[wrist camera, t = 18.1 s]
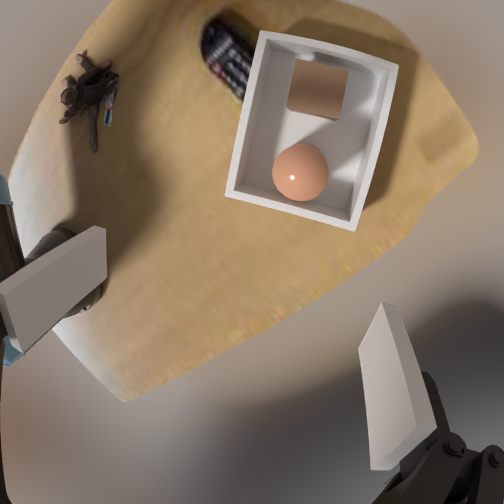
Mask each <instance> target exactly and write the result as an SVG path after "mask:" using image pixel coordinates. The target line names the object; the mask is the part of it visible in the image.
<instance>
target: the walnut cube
mask: <svg viewBox="0 0 504 504" xmlns="http://www.w3.org/2000/svg"><path fill="white" fill-rule="evenodd" d="M348 73H349V70H346V69H342V68H338V67H334V66H330V65H325V64H321V63H316V62H311V61H306V60H301V59H295V64H294V69H293V74H292V79H291V84H290V89H289V95H288V100H287V105H286V107H287V108H288V109H289V110H290V111H294V112H298V113H303V114H308V115H312V116H316V117H320V118H325V119H329V120H332V121H337V120H339V118H340V113H341V108H342V104H343V99H344V94H345V88H346V83H347V78H348Z"/></svg>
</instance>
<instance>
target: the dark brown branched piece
mask: <svg viewBox="0 0 504 504" xmlns="http://www.w3.org/2000/svg"><path fill="white" fill-rule="evenodd" d="M75 59H76V62H77V63H78V64H81V66H82V67H83V68H84V69H85V70H86V73H85V74H83V75H82V76H81V77H79V78H78V82H77V83H76V81H75V80H74V79H72V78H68V77H66V78H64V79H63V80H62V84H63V85H67V87H68V88H67V89H65V90H64V91H63V92H62V94H61V103H63V104H64V105H66V106H68V107H69V109H68V110H67V111H65V114H64V117H63V118H62V119H61V120H60V121H59V123H60V124H64V123H66V122H68V121H69V120H70V119H71V118H72V117H74V116H75V114H76V113H77V112H78V111H79V110H80V111H81V114H80V117H82V116H83V114H84V110H85V109H86V110H88V113H89V121H90V145H91V151H92V152H95V151H96V149H97V145H98V143H97V126H96V120H97V116H98V112H99V103H100V101H101V98H103V99H104V101H105V110H104V124H105V126H106V127H109V126H110V125H111V123H112V110H113V105H114V101H115V97H116V93H117V88H118V76H119V75H118V74H115V73H113V72H112V71H109V72H108V73H107V74H106V76H105V79H104V81H102V82H100V83H98V77H100V76H101V75H103V74H104V73H105V72H106V71H108V70H109V69H110V67H111V65H112V61H111V60H108V61H105V62H102V63H100V64H98V65H97V66H94V65H93V64H92V63H91V62H90V61H89V60H88V58H85V57H83V55H81V54H77V55H76V58H75ZM85 104H86V106H83V105H85ZM88 105H89V107H88ZM88 108H89V109H88Z"/></svg>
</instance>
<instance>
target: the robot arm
mask: <svg viewBox="0 0 504 504" xmlns="http://www.w3.org/2000/svg"><path fill="white" fill-rule="evenodd" d="M12 206H13V202H12V201H11V197H10V192H9V187H8V182H7V179H6V177H5V176H4V175H3V174H1V173H0V398H1V381H2V369H3V366H4V367H7V366H11V365H12V364H13V363H14V362H16V361H17V360H18V359H20V358H21V357H22V356H25V354H26V352H27V351H28V350H29V349H30V348H31V347H32V346H33V345H35V344H36V342H37V341H39V340H40V339H41V338H42V337H43V336H44V335H45V334H46V333H47V332H48V331H49V330H51V329H52V328H53V327H54V326H55V325H56V324H57V323H58V322H59V321H61V320H62V319H63V318H66V317H69V316H72V315H75V314H77V313H79V312H84V311H86V310H88V309H90V308H91V307H92V306H93V305H94V304H95V303H96V302H97V301H98V300H99V298H100V296H101V293H102V282H103V281H104V280H105V279H106V278H107V259H106V229H105V228H101V227H98V226H93V227H91V228H89V229H87V230H85V231H84V232H82V233H80V234H78V235H76V234H75V233H73V232H71V231H69V230H66V229H56V230H54V231H52V232H50V233H48V234H46V235H45V236H44V237H43V238H42V239H41V240H40V242H39V243H38V244H37V245H36V246H35V248H34V249H33V250H32V251H31V252H30V254H29V255H28V256H27V257H26V258H25V259H24V256H23V252H22V249H21V245H20V241H19V236H18V232H17V227H16V223H15V218H14V213H13V207H12ZM358 350H359V356H360V363H361V370H362V378H363V385H364V393H365V402H366V411H367V422H368V433H369V445H370V461H371V470H391V469H392V468H393V467H394V466H396V465H397V464H398V463H400V471H399V472H398V473H397V474H396V475H394V476H393V477H392V478H390V479H389V480H388V481H386V482H385V483H384V484H385V485H387V484H388V483H389V484H388V485H387V486H386V487H385V489H384V490H383V491H382V492H381V494H380V495H379V496H378V497H377V498H376V499H375V501H374V502H373V503H372V504H503V500H504V451H503V450H502V449H501V448H500V447H498V446H496V445H490V446H488V447H486V448H485V449H484V450H483V451H482V452H481V453H480V452H477V451H473V450H469V449H467V448H466V444H465V442H464V441H463V439H462V438H461V437H460V436H459V435H457V434H455V433H452V432H450V429H449V425H448V422H447V418H446V415H445V412H444V408H443V405H442V403H441V399H440V396H439V394H438V390H437V387H436V384H435V382H434V380H433V379H432V378H431V376H430V375H429V374H428V372H422V371H420V368H419V365H418V363H417V359H416V357H415V354H414V351H413V348H412V345H411V343H410V340H409V337H408V334H407V332H406V329H405V327H404V324H403V321H402V319H401V316H400V314H399V311H398V309H397V306H396V305H392V304H388V303H384V302H381V304H380V307H379V308H378V310H377V312H376V314H375V317H374V319H373V321H372V323H371V325H370V327H369V329H368V331H367V333H366V335H365V337H364V339H363V340H362V342H361V344H360V346H359V348H358ZM2 464H3V463H2V452H1V434H0V504H12V503H11V501H10V500H9V498H8V496H7V492H6V487H5V481H4V473H3V465H2ZM466 500H467V501H466Z"/></svg>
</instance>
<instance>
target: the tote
mask: <svg viewBox="0 0 504 504" xmlns="http://www.w3.org/2000/svg"><path fill="white" fill-rule="evenodd" d="M295 59H301V60H306V61H311V62H316V63H321V64H325V65H330V66H334V67H338V68H342V69H346V70H349V73H348V78H347V83H346V88H345V94H344V99H343V104H342V108H341V113H340V118H339V120H337V121H332V120H329V119H325V118H320V117H316V116H312V115H308V114H303V113H298V112H294V111H290V110H289V109H288V108H287V107H286V105H287V100H288V95H289V89H290V84H291V79H292V74H293V69H294V64H295ZM398 68H399V65H397V64H395V63H392V62H389V61H387V60H384V59H381V58H378V57H375V56H372V55H369V54H366V53H363V52H359V51H356V50H353V49H349V48H346V47H342V46H338V45H334V44H330V43H326V42H322V41H318V40H313V39H309V38H304V37H299V36H294V35H288V34H282V33H276V32H269V31H262V30H260V34H259V38H258V42H257V46H256V50H255V54H254V59H253V63H252V67H251V71H250V76H249V80H248V85H247V89H246V94H245V98H244V103H243V107H242V112H241V117H240V121H239V126H238V131H237V136H236V140H235V145H234V150H233V155H232V160H231V165H230V170H229V176H228V181H227V186H226V191H225V196H226V197H230V198H234V199H238V200H242V201H246V202H250V203H254V204H258V205H261V206H265V207H269V208H273V209H277V210H280V211H284V212H288V213H291V214H295V215H298V216H302V217H306V218H309V219H313V220H316V221H320V222H323V223H327V224H330V225H333V226H337V227H340V228H344V229H347V230H350V231H354V232H355V230H356V227H357V224H358V221H359V218H360V215H361V212H362V209H363V206H364V202H365V199H366V196H367V193H368V190H369V186H370V183H371V179H372V176H373V173H374V169H375V166H376V162H377V158H378V155H379V151H380V147H381V144H382V140H383V136H384V132H385V128H386V124H387V120H388V116H389V111H390V107H391V102H392V98H393V93H394V89H395V84H396V79H397V74H398ZM297 143H308V144H312V145H314V146H315V147H317V148H318V149H319V150H320V151H321V152H322V153H323V155H324V157H325V160H326V163H327V165H328V169H329V179H328V183H327V185H326V187H325V189H324V190H323V191H322V193H321V194H319V195H318V196H317V197H315V198H313V199H311V200H307V201H296V200H292V199H289V198H287V197H286V196H284V195H283V194H282V193H281V192H280V191H279V190H278V189H277V187H276V186H275V184H274V181H273V177H272V168H273V164H274V162H275V159H276V158H277V156H278V155H279V154H280V153H281V152H282V151H284V150H285V149H287V148H289V147H290V146H292V145H294V144H297Z"/></svg>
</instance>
